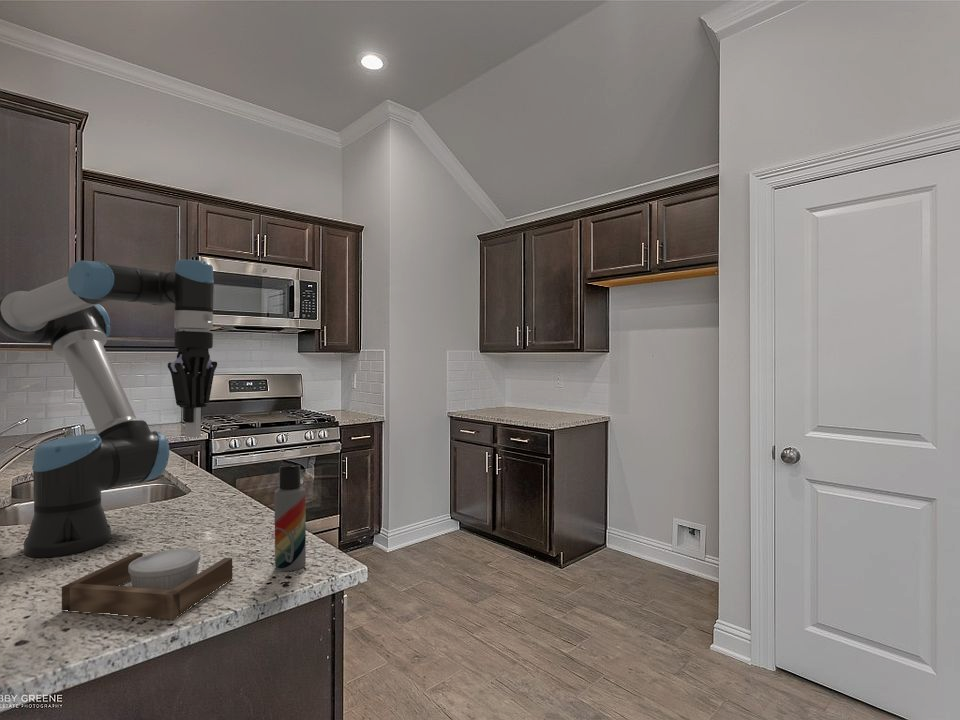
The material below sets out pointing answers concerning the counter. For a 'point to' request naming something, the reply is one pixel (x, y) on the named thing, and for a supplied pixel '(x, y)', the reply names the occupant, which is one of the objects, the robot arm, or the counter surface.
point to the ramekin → (164, 569)
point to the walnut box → (140, 591)
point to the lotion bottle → (290, 520)
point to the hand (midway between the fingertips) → (192, 436)
